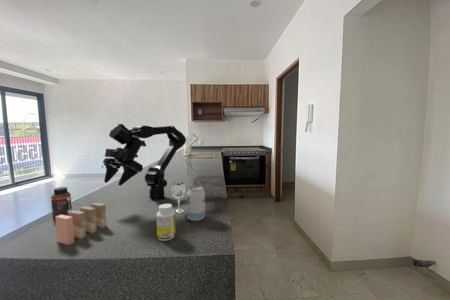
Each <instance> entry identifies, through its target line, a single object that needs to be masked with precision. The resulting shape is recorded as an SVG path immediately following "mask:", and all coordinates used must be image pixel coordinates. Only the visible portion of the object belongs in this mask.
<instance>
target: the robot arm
mask: <svg viewBox="0 0 450 300" xmlns="http://www.w3.org/2000/svg"><path fill="white" fill-rule="evenodd" d="M164 134H166V135H167V138H168V140H169V141H168V143H169V144H168V147H167V148H166V150H165V151H164V153H163V154H162V155H161V157H160V159H159V160H158V162H157V163H156V165H155V166H154V167H151V166H150V167H149V168H148V169H147V171H146V172H145V176H144V182H145V183H146V184H147V186H148V187H150V188H149V190H148V194H149V196H148V197H149V199H151V201H157V200H163V199H166V197H165V187H167V186H168V181H167V180H166V179H165V171H166V169H167V168H168V165H169V164H170V162H171V161H172V159H173V157H174V156H175V154H176V152H177V151H178V150H180V149H181V148H182V147H183V146H184V145H185V144H186V142H187V138H186V136H185V135H184V134H183V132H181V131H180V130H178V129H177V128H176V127H175V126H174V125H166V126H155V127H154V126H150V125H133V127H132V129H128V128H127V127H126V126H125V125H124V124H122V123H118V125H117V126H115V127H113V129H111V130H110V132H109V137H110V138H111V139H113V140H114V141H116V142H118V143H119V144H120V145H125V146H124V147H117V148H116V149H114V148H106V149H105V153H104V157H106V158H104V160H103V161H102V164H103V166H105V176H104V183H106V184H108V182H109V181H110V180H111V179H112V178H113V177H114V176H115V175H116V174H117V173H119V171H120V170H119V169H121V167H122V169H123V172H122V174H121V176H120V179H119V181H118V186H122V185H124V184H125V183H126V182H127V181H129V180H130V179H132V178H133V177H134V176H136V175H138V174H139V173H142V171H143V169H144V168H143V167H144V166H143V165H142V164H141V163H140V162H138V161H137V160H135V158H136V159H137V158H139V155H138V153H139V151H140V149H141V147H147V144H146V141H145V140H141V139H148V138H151V137H153V136H156V135H164Z"/></svg>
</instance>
